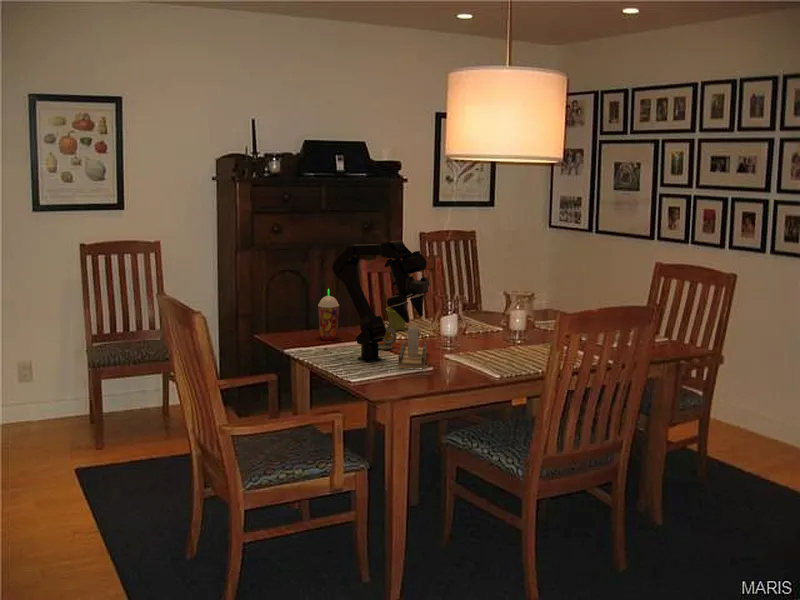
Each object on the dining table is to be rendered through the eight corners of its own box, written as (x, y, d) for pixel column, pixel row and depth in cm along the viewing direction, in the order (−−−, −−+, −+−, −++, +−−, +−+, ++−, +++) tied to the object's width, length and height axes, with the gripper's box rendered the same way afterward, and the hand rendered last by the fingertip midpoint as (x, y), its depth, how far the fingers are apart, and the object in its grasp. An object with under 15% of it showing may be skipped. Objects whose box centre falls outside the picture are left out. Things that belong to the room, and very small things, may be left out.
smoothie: (319, 336, 345) (319, 287, 342) (340, 336, 345) (340, 287, 341) (316, 340, 337) (316, 290, 334) (337, 341, 337) (338, 291, 333)
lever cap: (407, 356, 306) (408, 329, 304) (408, 353, 311) (408, 326, 309) (419, 357, 306) (420, 329, 304) (420, 353, 311) (420, 326, 309)
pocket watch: (375, 350, 323) (375, 324, 321) (374, 345, 331) (375, 319, 329) (396, 350, 323) (397, 324, 321) (396, 345, 332) (396, 320, 330)
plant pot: (412, 328, 361) (412, 308, 360) (400, 332, 353) (400, 312, 352) (393, 326, 366) (394, 306, 364) (381, 330, 358) (381, 309, 357)
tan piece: (424, 369, 297) (424, 358, 296) (398, 368, 297) (398, 357, 297) (426, 352, 320) (426, 342, 320) (402, 352, 321) (402, 341, 320)
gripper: (406, 276, 283) (420, 321, 284) (433, 265, 299) (447, 308, 300) (379, 283, 290) (393, 327, 290) (408, 273, 305) (421, 315, 306)
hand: (414, 319), depth 296 cm, fingers open, 9 cm apart
